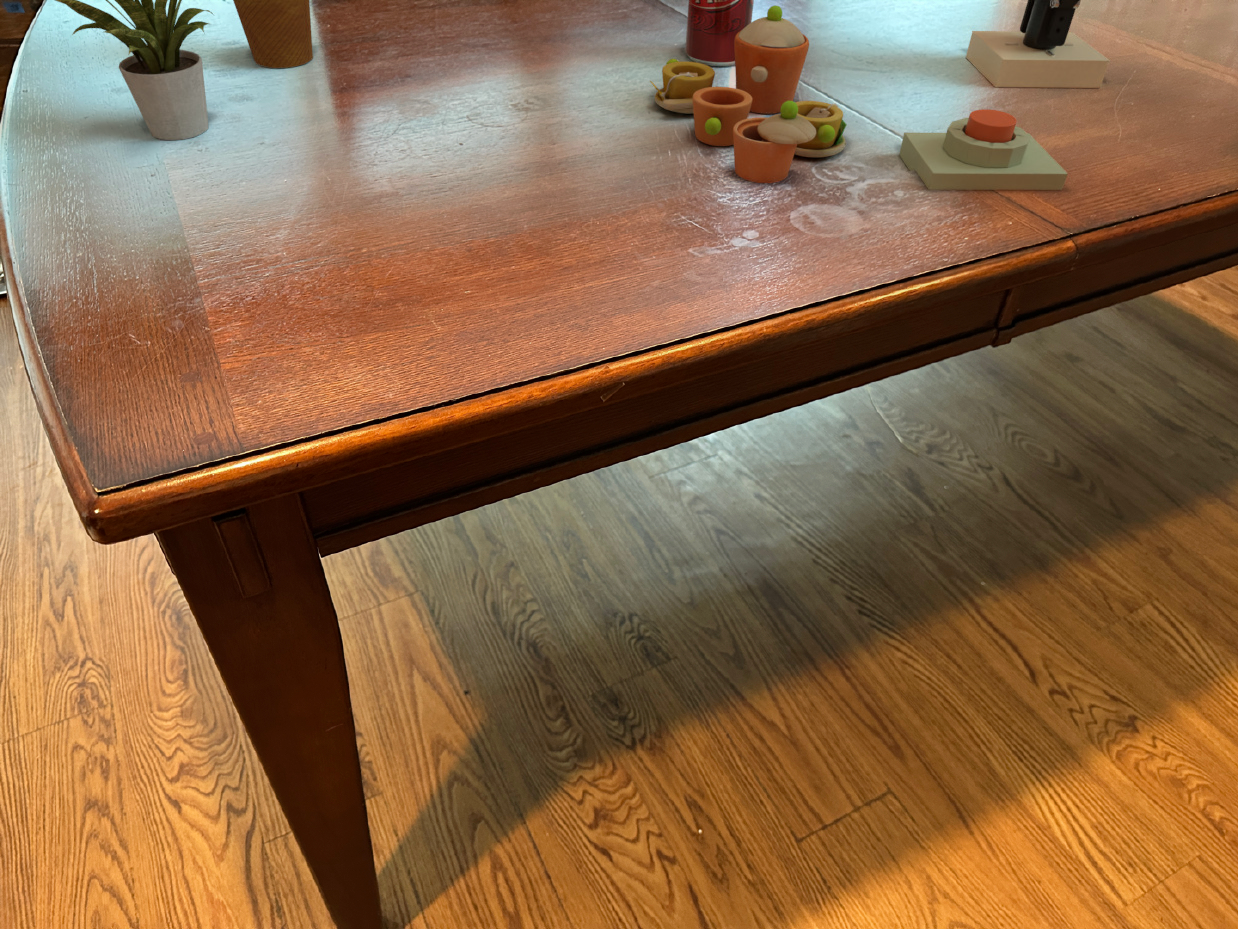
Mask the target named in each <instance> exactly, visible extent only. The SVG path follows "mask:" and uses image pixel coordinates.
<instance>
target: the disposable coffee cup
mask: <svg viewBox="0 0 1238 929" xmlns="http://www.w3.org/2000/svg"><path fill="white" fill-rule="evenodd" d="M232 1H233V5H234V6H235V10H236V12H237V13H236V14H237V15H238V19H239V21H240V24H241V27H242V29H243V33H244V36H245V38H246V41H247V44H248V46H249V49H250V53H251V55H252V58H253V61H254V63H255V64H256V65H258V66H261V67H264V68H270V69H272V68H273V69H288V68H294V67H298V66H302V65H306V64H307V63H309V62H310V61H312V60H313V58H314V54H313V38H312V37H313V36H312V22H311V20H312V19H311V8H310V5H311V4H310V0H232Z"/></svg>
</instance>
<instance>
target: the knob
mask: <svg viewBox="0 0 1238 929" xmlns="http://www.w3.org/2000/svg"><path fill="white" fill-rule="evenodd" d="M1050 1H1051V0H1035V2H1034V5H1033V9H1032V12H1031V16H1030V19H1029V22H1028V26H1027V29H1026V32H1025V36H1024V39H1023V44H1024V45H1026V46H1028V47H1031V48H1035V49H1045V50H1047V49H1054V48H1055V47H1056V46H1038V45H1036V44H1035V39H1036V35H1037V32H1038V29H1039V26H1040V22H1041V19H1042V16H1043V12H1044V9H1045V6H1050Z"/></svg>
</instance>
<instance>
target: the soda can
mask: <svg viewBox="0 0 1238 929" xmlns="http://www.w3.org/2000/svg"><path fill="white" fill-rule="evenodd" d="M754 2H755V0H688V3H687V4H688V5H687V6H688V7H687V20H686V33H685V34H686V35H685V48H684V50H685V54H686V55H687V58H689V59H690V60H691V62H696V63H701V64H705V65H707V66H709V67H731V66H735V48H734V41H735V36H736V34H737V33H738V32H740V31H742V30H743V29H744V28H745V27H746V26H747V25H749V24H750V23H751V22H753V14H754V12H753V11H754Z"/></svg>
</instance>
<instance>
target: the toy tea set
mask: <svg viewBox="0 0 1238 929" xmlns="http://www.w3.org/2000/svg"><path fill="white" fill-rule="evenodd" d="M734 48H735V65H734V67H735V69H734V70H735V87H729V86H713V84H714V80H715V75H716V72H715V70H714V68H712V66H708V65H705V64H701V63H696V62H694V61H685V60H684V61H679V60H678V59H676V58H670V59H668V60H667V61H666V63H665V65H663V66H662V70H661V72H662V73H661V74H662V86H663V87H662V88H660V89H659V88H658V87H657V85H655V83H654V82H653V81H652V80H649V82H650V83H651V84H652V86H653V87H654V89H655V90H656V92H655V94H654V102H655V103H656V104H657V105H658V106H659V107H661V108H663V109H664V110H667V111H671V112H674V113H677V114H692V115H693V125H694V135H695V138H696V139H697V140H698V141H699V142H701V143H703V144H705V145H707V146H708V145H709V146H713V147H729V146H733V158H734V159H733V161H734V172H735V174H736V175H737V176H738V177H739V178H741V179H743V180H746V181H748V182H752V183H757V184H775V183H778V182H781V181H784V180H785V179H786V178H788V175H789V171H790V169H791V165H792V162H793V159H794V156H799V157H806V158H825V157H827V158H828V157H831V156H834V155H837V154H840V153H841V152H842V151H843V150H844V149H845V148H846V138H845V137H844V135H843V134H844V131H845V129H846V128H847V126H848V125H847V123H846V122H845V120H844V119H843V118H844V112H843V110H842V109H841V108H840V107H839V106H838V104H837V103H835V102H834V103H828V102H824V101H818V100H799V101H794V99H795V95H796V92H797V89H798V85H799V82H800V78H801V74H802V71H803V68H804V65H805V61H806V60H807V59H806V58H807V55H808V52H809V48H810V41H809V39H808V37H807V36H806V35H805V34H803V33H802V31H801V30H800V29H799V28H798V27H797V26H796V24H794V23H793V22H792V21H790V20H788V19H786V18H783V9H782V8H781V6H779V5H772V6H770V7H769V8H768V10H767V14H766V16H762V17H760V18H757V19H755V20H752V22H751V23H750V24H749V25H747V26H746V27H745V28H744V29H743V30H742V31H740V32H738V33H737V34H736V36H735V41H734ZM750 112H751V113H756V114H763V115H764V114H766V115H770V116H768V117H767V116H764V117H763V116H759V117H758V116H756V117H751V118H750V117H749V115H750Z"/></svg>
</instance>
